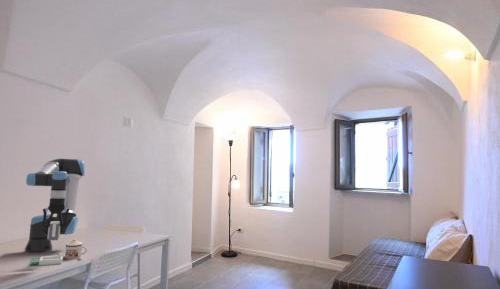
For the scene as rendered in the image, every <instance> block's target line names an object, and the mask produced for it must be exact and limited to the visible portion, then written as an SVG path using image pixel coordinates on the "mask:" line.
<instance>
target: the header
mask: <svg viewBox="0 0 500 289" xmlns="http://www.w3.org/2000/svg"><path fill="white" fill-rule="evenodd" d="M39 258H40V260H39V265H49V264H63V261H64V255H63V254H61V255H59V256H57V255H49V256H48V255H46V256H40V257H39Z"/></svg>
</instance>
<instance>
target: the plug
mask: <svg viewBox="0 0 500 289" xmlns="http://www.w3.org/2000/svg"><path fill="white" fill-rule="evenodd" d="M59 225H60V221H51V222H50V231H49V240H51V241H58V240H59V239H58V231H59Z"/></svg>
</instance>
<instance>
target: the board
mask: <svg viewBox="0 0 500 289" xmlns="http://www.w3.org/2000/svg"><path fill="white" fill-rule="evenodd" d="M59 255H62V253H61V252H60V253H57V254H56V256H59ZM40 258H41V257H31V259H30V260H29V262H28V263H27V266H26V268H33V267H34V268H35V267H47V266H60V265H61V264H49V265H39V260H40Z"/></svg>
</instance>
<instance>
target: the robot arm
mask: <svg viewBox="0 0 500 289" xmlns="http://www.w3.org/2000/svg"><path fill="white" fill-rule="evenodd" d="M85 174H86V168H85V161H84V160H83V159H77V158H76V159H75V158H74V159H73V158H57V159H52V160H49V161H47V162H46V163H44V164H43V167H42V168H40V169H39V170H38V171H37V172H29V173H28V174H27V175H26V183H25V184H26V185H27V186H29V187H30V186H31V187H51V189H50V198H49V202H48V203H49V205H48V207H45V208H43V209H42V212H43V214H41V215H39V214H38V215H35V216H33V217H31V219H30V224H29V225H30V228H29V237H28V241H27V243H26V245H25V248H24V253H44V252H48V251H49V252H51V251H53V244H52V240H49V231H50V222H51V221H60V225H59V231H58V240H59V239H60V237H61V235H65V236H67V235H73V234H74V233H75V232H76V229H77V226H78V221H79V217H78V216H77V213H76V212H75V209H76V203H77V194H78V190H79V183H80V180H81V179H82V178H83V177H84V176H85ZM48 211H49V212H50V213H49V214H47V212H48ZM55 214H56V215H55ZM54 215H55V216H54Z"/></svg>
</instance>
